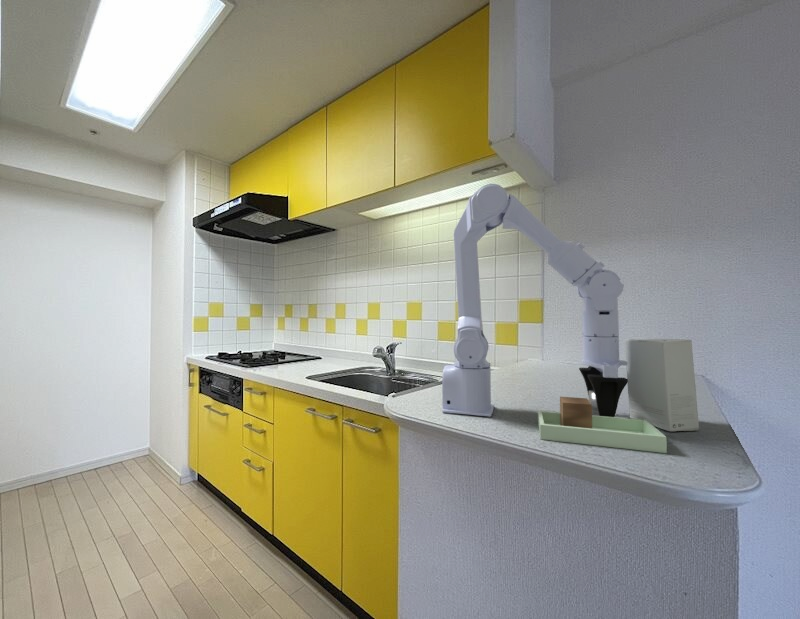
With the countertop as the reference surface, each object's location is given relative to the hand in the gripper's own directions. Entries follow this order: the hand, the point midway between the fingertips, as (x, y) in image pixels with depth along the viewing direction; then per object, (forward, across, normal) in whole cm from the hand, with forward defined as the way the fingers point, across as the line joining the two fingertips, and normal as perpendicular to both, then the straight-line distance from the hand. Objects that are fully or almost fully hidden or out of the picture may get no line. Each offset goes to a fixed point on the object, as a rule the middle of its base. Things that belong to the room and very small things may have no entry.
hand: (601, 410), depth 60 cm
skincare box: (+2, 0, -9) cm, 9 cm away
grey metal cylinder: (+2, 0, 0) cm, 2 cm away
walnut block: (+1, -10, +6) cm, 12 cm away
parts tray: (+2, -10, +3) cm, 11 cm away
